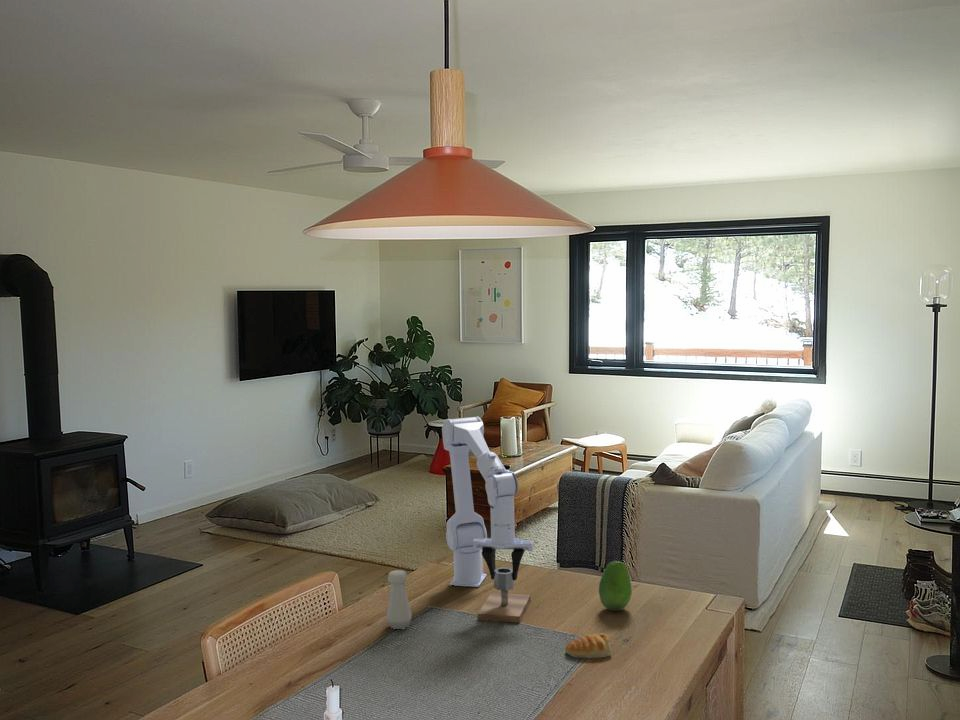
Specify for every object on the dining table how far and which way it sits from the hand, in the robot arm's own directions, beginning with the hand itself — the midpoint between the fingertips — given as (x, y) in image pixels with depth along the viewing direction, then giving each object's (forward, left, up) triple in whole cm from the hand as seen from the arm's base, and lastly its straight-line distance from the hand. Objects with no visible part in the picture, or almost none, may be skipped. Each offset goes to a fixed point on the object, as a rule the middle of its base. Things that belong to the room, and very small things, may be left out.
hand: (504, 578), depth 198 cm
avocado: (-5, +26, -8) cm, 28 cm away
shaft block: (0, 0, -8) cm, 8 cm away
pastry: (+20, +23, -8) cm, 32 cm away
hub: (0, 0, -2) cm, 2 cm away
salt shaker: (+14, -22, -8) cm, 27 cm away
